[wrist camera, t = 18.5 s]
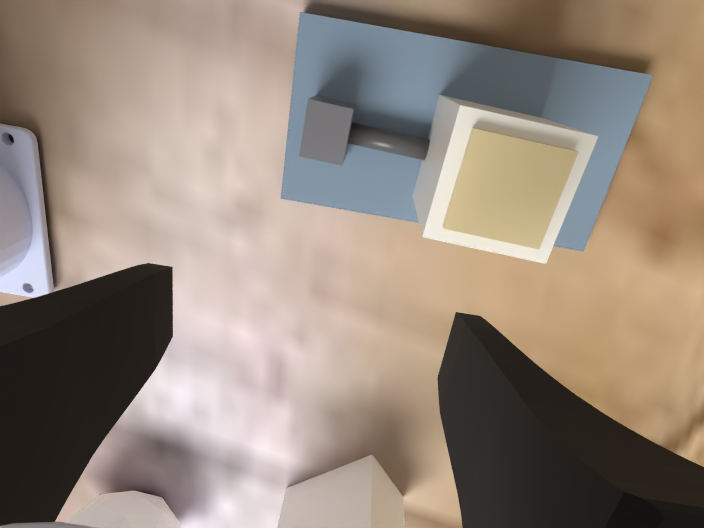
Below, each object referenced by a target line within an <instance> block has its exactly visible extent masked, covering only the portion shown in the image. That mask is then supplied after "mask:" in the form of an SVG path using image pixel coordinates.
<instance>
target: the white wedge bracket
mask: <svg viewBox="0 0 704 528" xmlns="http://www.w3.org/2000/svg"><path fill="white" fill-rule="evenodd" d="M277 528H405V520H404V501H403V496H402V495H401V493H400V492H399V490H398V489H397V488H396V486H395V485H394V484H393V482H392V481H391V479H390V478H389V477H388V475H387V474H386V473H385V471H384V470H383V468H382V467H381V466H380V464H379V463H378V462H377V460H376V459H375V457H374V456H373V455H369V456H367V457H364V458H362V459H359V460H357V461H354V462H351V463H349V464H346V465H344V466H341V467H339V468H336V469H334V470H331V471H328V472H326V473H323V474H321V475H318V476H316V477H313V478H311V479H308V480H305V481H303V482H300V483H298V484H295V485H293V486H290V487H288V488H286V491H285V495H284V500H283V504H282V509H281V513H280V518H279V522H278V527H277Z"/></svg>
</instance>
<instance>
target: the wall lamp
mask: <svg viewBox="0 0 704 528" xmlns="http://www.w3.org/2000/svg"><path fill="white" fill-rule="evenodd" d="M355 109H356V104H351V103H347V102H342V101H338V100H334V99H329V98H325V97H320V96H314V97H311V98H309V99H308V103H307V109H306V115H305V121H304V128H303V134H302V140H301V147H300V153H299V157H304V158H308V159H313V160H318V161H322V162H327V163H331V164H336V165H340V166H342V165H343V163H344V160H345V158H346V154H347V149H348V144H353V145H357V146H362V147H366V148H371V149H375V150H380V151H384V152H389V153H393V154H398V155H402V156H407V157H411V158H416V159H420V160H422V162H421V166H420V169H419V173H418V177H417V181H416V184H415V188H414V192H413V200H414V204H415V208H416V212H417V217H418V221H419V225H420V229H421V233H422V237H425V238H429V239H434V240H438V241H443V242H448V243H452V244H457V245H462V246H466V247H471V248H475V249H480V250H485V251H489V252H494V253H498V254H503V255H508V256H512V257H517V258H522V259H526V260H531V261H535V262H540V263H545V264H546V262H547V260H548V257H549V255H550V252H551V250H552V248H553V245H554V243H555V240H556V238H557V236H558V233H559V231H560V228H561V226H562V223H563V221H564V219H565V216H566V214H567V211H568V209H569V207H570V204H571V202H572V199H573V197H574V194H575V192H576V190H577V187H578V185H579V182H580V180H581V178H582V175H583V173H584V170H585V168H586V165H587V163H588V161H589V158H590V156H591V153H592V151H593V149H594V146H595V144H596V141H597V139H598V136H596V135H593V134H590V133H587V132H584V131H581V130H578V129H575V128H572V127H569V126H566V125H562V124H559V123H556V122H553V121H550V120H547V119H544V118H541V117H536V116H532V115H527V114H523V113H519V112H514V111H510V110H505V109H501V108H496V107H492V106H487V105H483V104H479V103H474V102H470V101H465V100H461V99H456V98H452V97H448V96H443V95H439V98H438V102H437V106H436V109H435V113H434V117H433V121H432V124H431V128H430V132H429V136H428V139H426V138H421V137H417V136H412V135H408V134H403V133H399V132H394V131H390V130H385V129H381V128H376V127H372V126H367V125H363V124H358V123H354V122H353V119H354V114H355Z"/></svg>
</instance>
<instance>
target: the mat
mask: <svg viewBox="0 0 704 528" xmlns="http://www.w3.org/2000/svg"><path fill="white" fill-rule="evenodd" d="M652 77H653V75H649V74H643V73H638V72H632V71H627V70H621V69H615V68H610V67H604V66H599V65H593V64H587V63H582V62H576V61H571V60H565V59H560V58H554V57H548V56H543V55H537V54H532V53H526V52H520V51H515V50H509V49H504V48H498V47H493V46H487V45H481V44H476V43H470V42H465V41H459V40H453V39H448V38H442V37H437V36H431V35H426V34H420V33H414V32H409V31H403V30H398V29H392V28H386V27H381V26H375V25H370V24H364V23H359V22H353V21H347V20H342V19H336V18H331V17H325V16H319V15H314V14H308V13H303V12H300V18H299V27H298V37H297V47H296V56H295V66H294V76H293V85H292V95H291V105H290V114H289V124H288V134H287V143H286V153H285V163H284V173H283V182H282V192H281V199H286V200H292V201H298V202H303V203H309V204H315V205H321V206H326V207H332V208H338V209H343V210H349V211H355V212H361V213H366V214H372V215H378V216H384V217H389V218H395V219H401V220H406V221H412V222H418V223H419V221H418V217H417V212H416V208H415V204H414V200H413V192H414V188H415V184H416V181H417V177H418V173H419V169H420V166H421V162H422V160H420V159H416V158H411V157H407V156H402V155H398V154H393V153H389V152H384V151H380V150H375V149H371V148H366V147H362V146H357V145H353V144H348V149H347V154H346V158H345V160H344V163H343V165H342V166H340V165H336V164H331V163H327V162H322V161H318V160H313V159H308V158H304V157H299V153H300V147H301V140H302V134H303V128H304V121H305V115H306V109H307V103H308V99H309V98H311V97H314V96H320V97H325V98H329V99H334V100H338V101H342V102H347V103H351V104H356V109H355V114H354V119H353V122H354V123H358V124H363V125H367V126H372V127H376V128H381V129H385V130H390V131H394V132H399V133H403V134H408V135H412V136H417V137H421V138H426V139H428V136H429V132H430V128H431V124H432V121H433V117H434V113H435V109H436V106H437V102H438V98H439V95H443V96H448V97H452V98H456V99H461V100H465V101H470V102H474V103H479V104H483V105H487V106H492V107H496V108H501V109H505V110H510V111H514V112H519V113H523V114H527V115H532V116H536V117H541V118H544V119H547V120H550V121H553V122H556V123H559V124H562V125H566V126H569V127H572V128H575V129H578V130H581V131H584V132H587V133H590V134H593V135H596V136H598V139H597V141H596V144H595V146H594V149H593V151H592V153H591V156H590V158H589V161H588V163H587V165H586V168H585V170H584V173H583V175H582V178H581V180H580V182H579V185H578V187H577V190H576V192H575V194H574V197H573V199H572V202H571V204H570V207H569V209H568V211H567V214H566V216H565V219H564V221H563V223H562V226H561V228H560V231H559V233H558V236H557V238H556V240H555V243H554V245H553V246H555V247H561V248H567V249H573V250H578V251H584V249H585V247H586V244H587V241H588V239H589V236H590V234H591V231H592V229H593V226H594V224H595V221H596V219H597V216H598V214H599V211H600V209H601V206H602V204H603V201H604V199H605V196H606V193H607V191H608V188H609V186H610V183H611V181H612V178H613V176H614V173H615V171H616V168H617V166H618V163H619V161H620V158H621V156H622V153H623V151H624V148H625V146H626V143H627V140H628V138H629V135H630V133H631V130H632V128H633V125H634V123H635V120H636V118H637V115H638V113H639V110H640V108H641V105H642V103H643V100H644V98H645V95H646V92H647V90H648V87H649V85H650V82H651V80H652Z"/></svg>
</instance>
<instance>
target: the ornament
mask: <svg viewBox="0 0 704 528" xmlns="http://www.w3.org/2000/svg"><path fill="white" fill-rule="evenodd" d="M66 523H70V524H77V525H84V526H90V527H97V528H181V525H180V523H179V521H178V520H177V518H176V517H175V515H174V514H173V513H172V511H171V510H170V508H169V507H168V505H167V504H166V502H165V501H164V500H163V498H162V497H158V496H154V495H150V494H146V493H142V492H138V491H126V492H116V493H107V494H100V495H99V496H98V497H97V498H95V499H94V500H93V501H92V502H90V503H89V504H88V505H87V506H85V507H84V508H83V509H82V510H80V511H79V512H78V513H77V514H75V515H74V516H73V517H72V518H70V519H69V520H68V521H67V522H66Z"/></svg>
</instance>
